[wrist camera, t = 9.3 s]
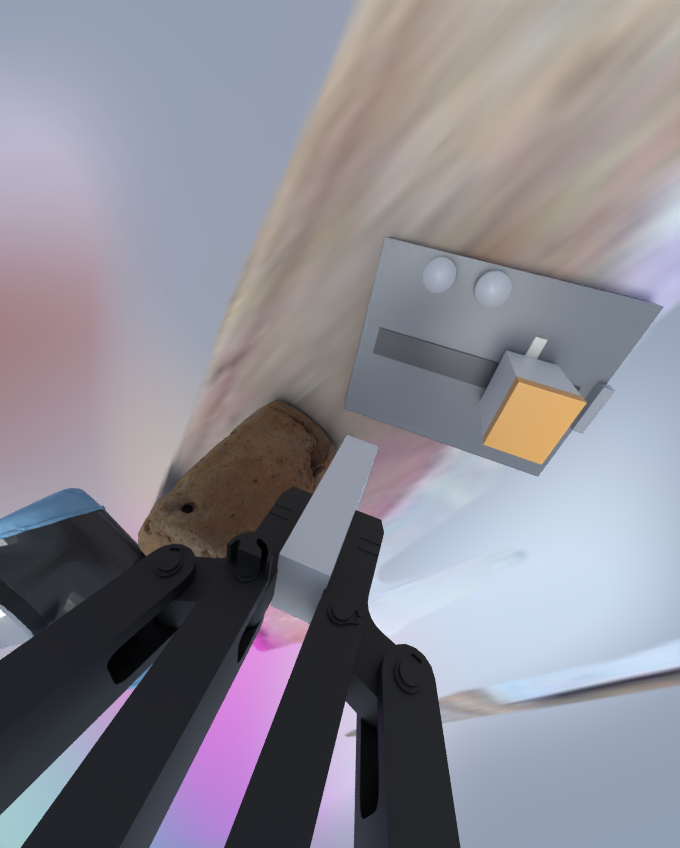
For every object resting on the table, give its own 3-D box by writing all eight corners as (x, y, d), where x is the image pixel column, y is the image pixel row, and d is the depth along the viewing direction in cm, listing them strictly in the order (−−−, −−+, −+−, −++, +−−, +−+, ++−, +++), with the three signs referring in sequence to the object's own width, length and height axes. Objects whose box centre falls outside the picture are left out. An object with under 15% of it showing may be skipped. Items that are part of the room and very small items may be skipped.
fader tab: (478, 403, 28) (483, 444, 22) (506, 350, 25) (518, 382, 20) (525, 418, 28) (541, 464, 22) (558, 365, 25) (586, 402, 19)
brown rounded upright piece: (255, 429, 42) (122, 550, 26) (276, 388, 38) (133, 502, 21) (321, 476, 42) (232, 626, 26) (350, 441, 38) (265, 594, 22)
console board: (349, 400, 35) (338, 415, 32) (389, 237, 27) (380, 237, 24) (536, 465, 32) (543, 488, 29) (652, 302, 23) (680, 311, 20)
